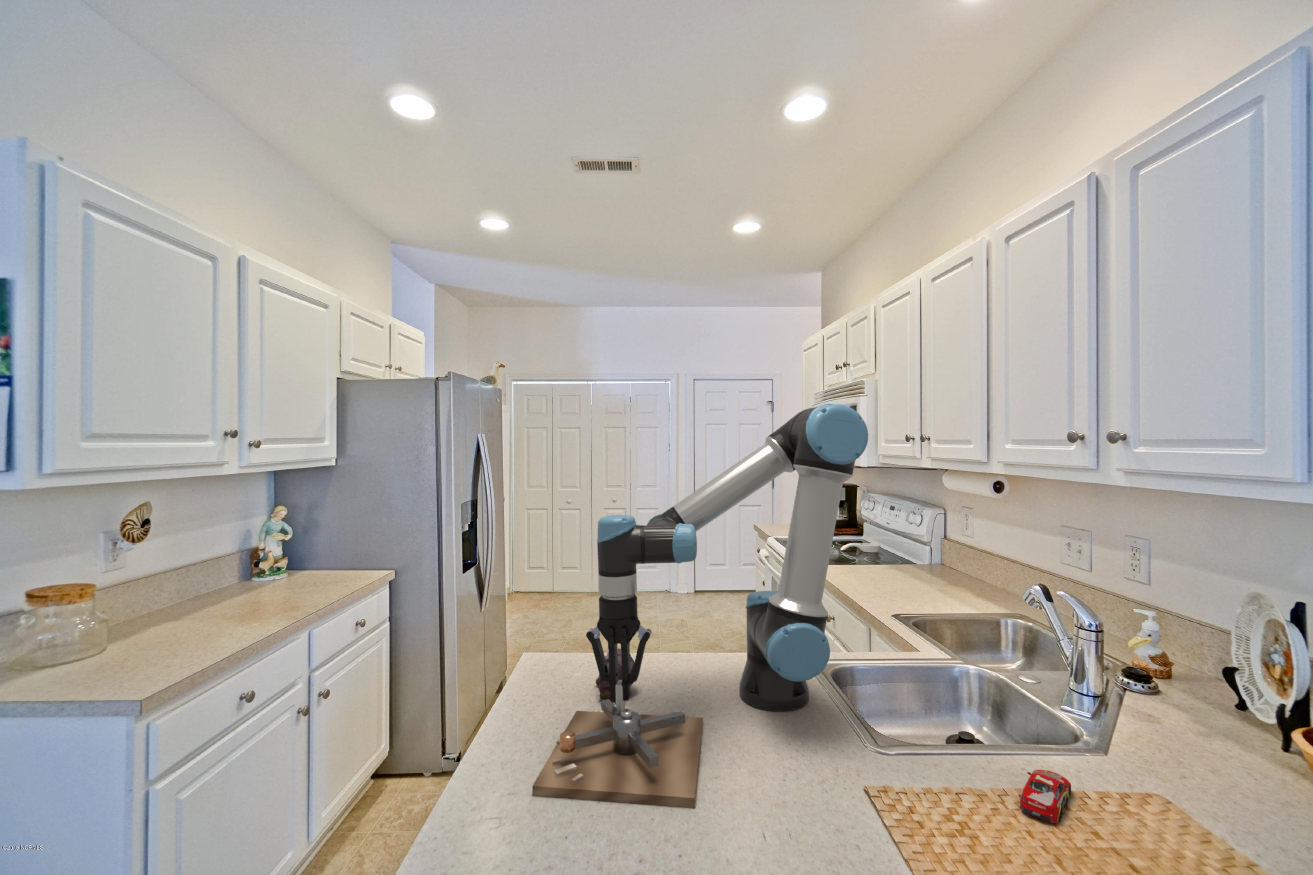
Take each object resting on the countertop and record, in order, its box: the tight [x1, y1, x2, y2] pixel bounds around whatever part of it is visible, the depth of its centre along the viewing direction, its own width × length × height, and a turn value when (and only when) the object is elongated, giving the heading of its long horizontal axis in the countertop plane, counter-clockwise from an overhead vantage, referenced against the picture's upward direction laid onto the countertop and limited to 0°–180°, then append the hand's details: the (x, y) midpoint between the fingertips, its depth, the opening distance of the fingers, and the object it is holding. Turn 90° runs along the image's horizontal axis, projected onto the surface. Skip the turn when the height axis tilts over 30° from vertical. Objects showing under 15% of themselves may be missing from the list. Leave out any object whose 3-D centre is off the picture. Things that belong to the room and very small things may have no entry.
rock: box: [595, 648, 635, 702], centre depth 128 cm, size 12×9×10 cm
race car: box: [1019, 769, 1072, 824], centre depth 88 cm, size 13×5×4 cm, turn 134°
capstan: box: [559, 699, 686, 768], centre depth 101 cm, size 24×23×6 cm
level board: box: [531, 710, 704, 809], centre depth 101 cm, size 26×26×2 cm
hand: (620, 716), depth 110 cm, fingers closed
